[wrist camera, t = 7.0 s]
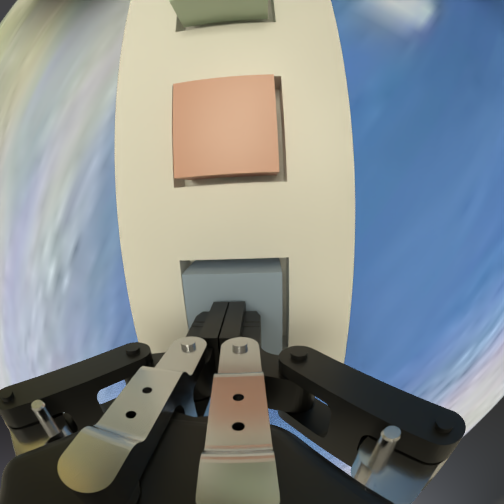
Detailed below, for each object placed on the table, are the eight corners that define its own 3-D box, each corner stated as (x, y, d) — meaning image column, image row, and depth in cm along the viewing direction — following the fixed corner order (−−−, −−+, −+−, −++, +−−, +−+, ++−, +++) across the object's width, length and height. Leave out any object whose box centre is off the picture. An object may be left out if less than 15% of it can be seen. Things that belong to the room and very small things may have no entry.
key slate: (278, 257, 15) (282, 272, 12) (279, 332, 16) (282, 358, 13) (195, 259, 15) (181, 274, 13) (203, 332, 16) (193, 357, 14)
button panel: (311, -8, 13) (319, -39, 9) (330, 331, 18) (343, 363, 15) (154, 5, 14) (136, -21, 10) (163, 333, 19) (144, 363, 15)
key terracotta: (272, 94, 13) (273, 74, 10) (276, 175, 14) (279, 171, 11) (188, 100, 13) (173, 83, 11) (190, 180, 14) (174, 178, 12)
